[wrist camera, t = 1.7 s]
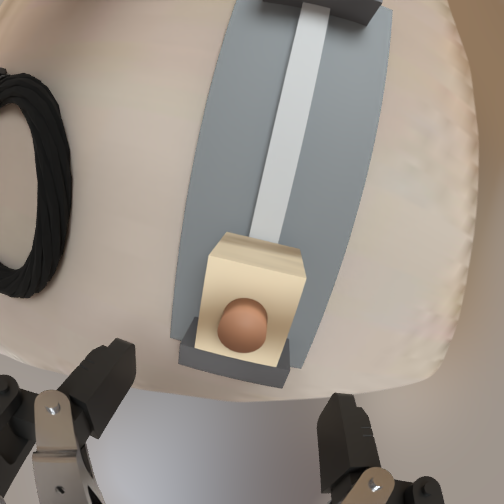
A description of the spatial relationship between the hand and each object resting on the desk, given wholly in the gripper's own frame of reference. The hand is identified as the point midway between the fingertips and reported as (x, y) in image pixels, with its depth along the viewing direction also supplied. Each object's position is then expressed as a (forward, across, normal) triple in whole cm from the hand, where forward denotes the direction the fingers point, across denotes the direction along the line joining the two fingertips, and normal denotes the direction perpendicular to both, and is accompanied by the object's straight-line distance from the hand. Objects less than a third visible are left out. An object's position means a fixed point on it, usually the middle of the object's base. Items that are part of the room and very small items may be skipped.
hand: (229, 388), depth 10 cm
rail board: (+13, 0, -8) cm, 15 cm away
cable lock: (+14, +32, -3) cm, 35 cm away
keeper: (+10, 0, 0) cm, 10 cm away
